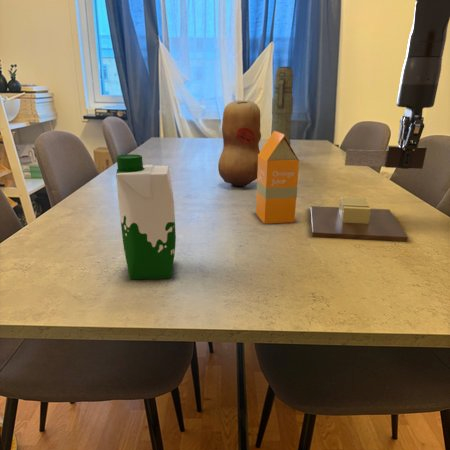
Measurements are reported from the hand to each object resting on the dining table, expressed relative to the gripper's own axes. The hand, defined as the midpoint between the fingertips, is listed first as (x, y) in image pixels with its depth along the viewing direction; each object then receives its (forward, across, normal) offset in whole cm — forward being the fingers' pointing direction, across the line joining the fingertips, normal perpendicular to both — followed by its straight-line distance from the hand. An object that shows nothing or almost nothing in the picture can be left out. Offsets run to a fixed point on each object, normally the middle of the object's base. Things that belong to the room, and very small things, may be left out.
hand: (403, 166), depth 98 cm
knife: (0, 0, +5) cm, 5 cm away
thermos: (+13, +95, +33) cm, 101 cm away
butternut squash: (+13, +32, +42) cm, 55 cm away
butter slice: (+12, -5, +10) cm, 16 cm away
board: (+13, -3, +10) cm, 16 cm away
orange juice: (+13, -1, +28) cm, 32 cm away
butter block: (+12, +1, +10) cm, 15 cm away
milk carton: (+13, -39, +48) cm, 63 cm away
